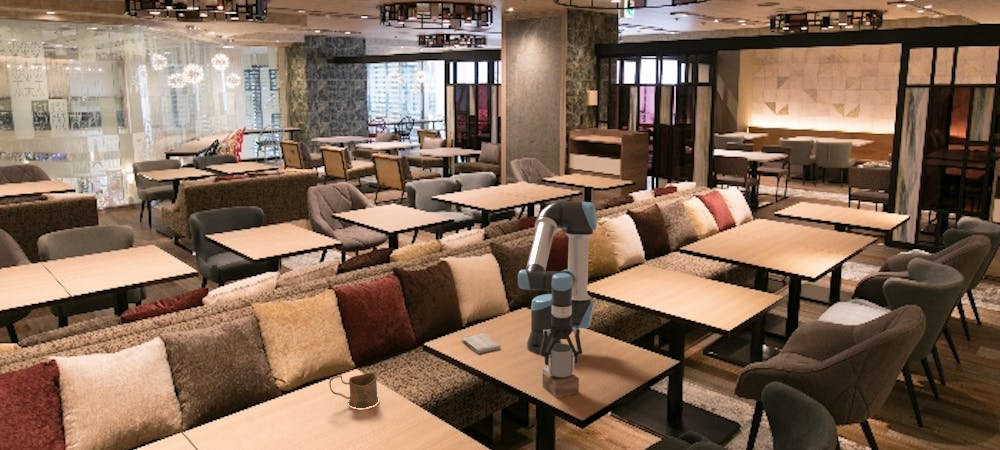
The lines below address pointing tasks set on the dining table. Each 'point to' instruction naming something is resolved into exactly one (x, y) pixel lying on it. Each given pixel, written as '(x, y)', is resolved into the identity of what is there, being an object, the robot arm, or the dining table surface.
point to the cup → (561, 360)
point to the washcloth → (480, 343)
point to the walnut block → (560, 384)
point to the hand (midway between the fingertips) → (560, 371)
